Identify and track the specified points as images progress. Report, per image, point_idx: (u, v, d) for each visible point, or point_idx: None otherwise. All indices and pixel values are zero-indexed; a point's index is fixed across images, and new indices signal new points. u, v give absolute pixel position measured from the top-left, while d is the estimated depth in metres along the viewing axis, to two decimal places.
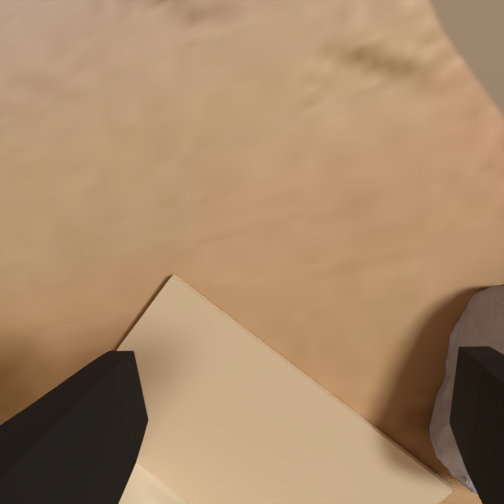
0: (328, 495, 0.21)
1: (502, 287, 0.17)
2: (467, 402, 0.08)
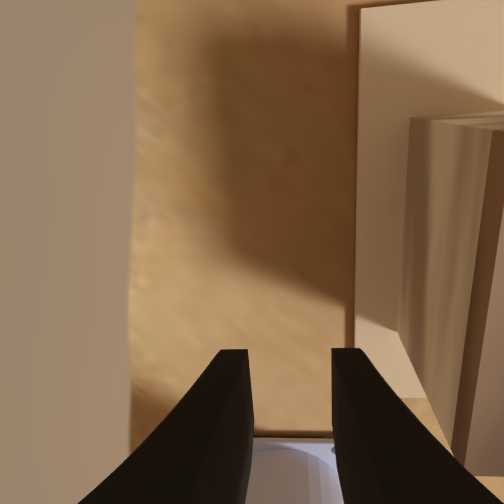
0: None
1: None
2: (334, 402, 0.08)
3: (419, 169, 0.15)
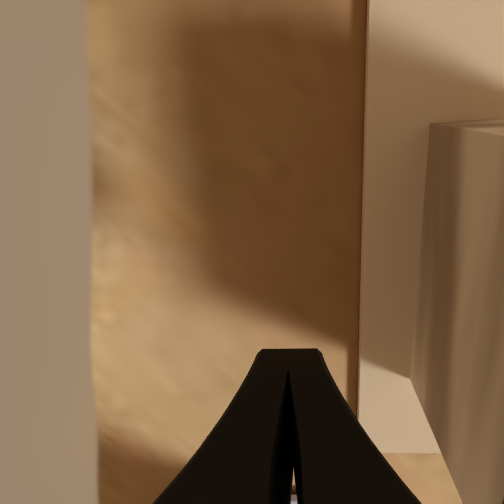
0: None
1: None
2: None
3: (443, 189, 0.12)
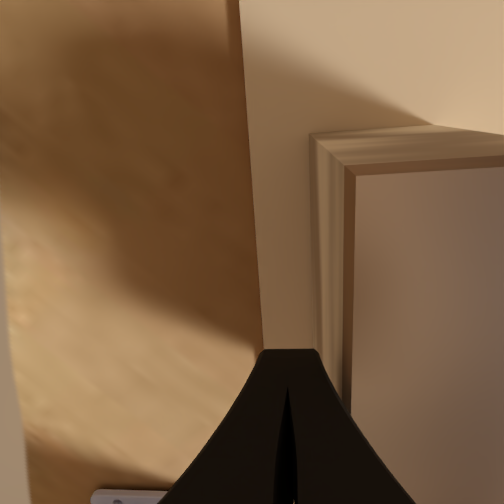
0: None
1: None
2: None
3: (314, 198, 0.12)
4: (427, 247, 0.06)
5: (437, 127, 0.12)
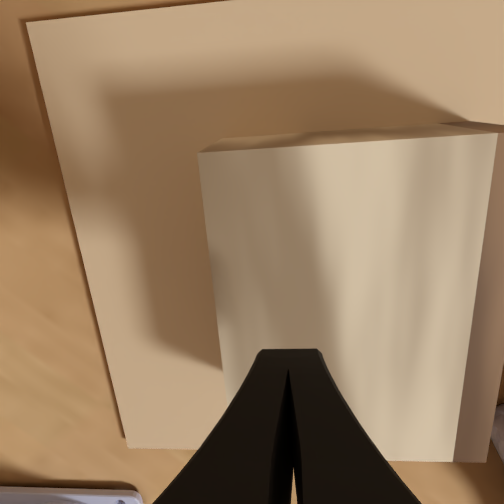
0: None
1: None
2: None
3: (268, 219, 0.10)
4: None
5: (253, 136, 0.13)
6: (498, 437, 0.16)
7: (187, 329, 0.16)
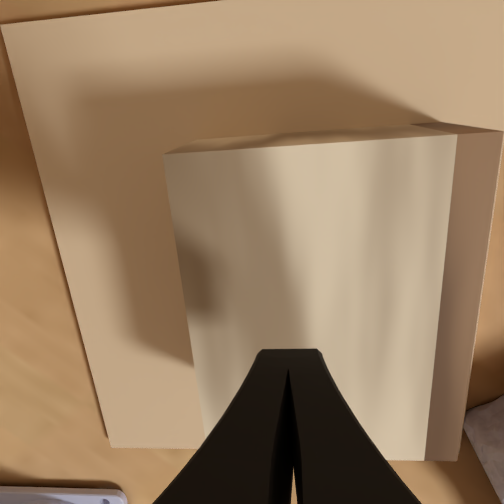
0: None
1: None
2: None
3: (234, 220, 0.10)
4: None
5: (227, 138, 0.13)
6: (474, 438, 0.16)
7: (167, 329, 0.16)
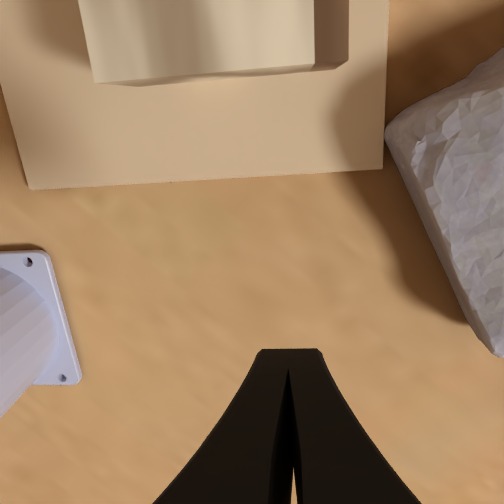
0: None
1: None
2: None
3: None
4: None
5: None
6: (390, 128, 0.15)
7: (74, 23, 0.16)
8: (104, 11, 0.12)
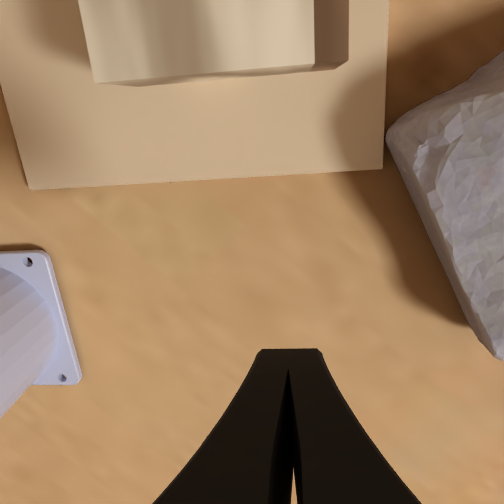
0: None
1: None
2: None
3: None
4: None
5: None
6: (392, 131, 0.15)
7: (74, 23, 0.16)
8: (104, 11, 0.12)
